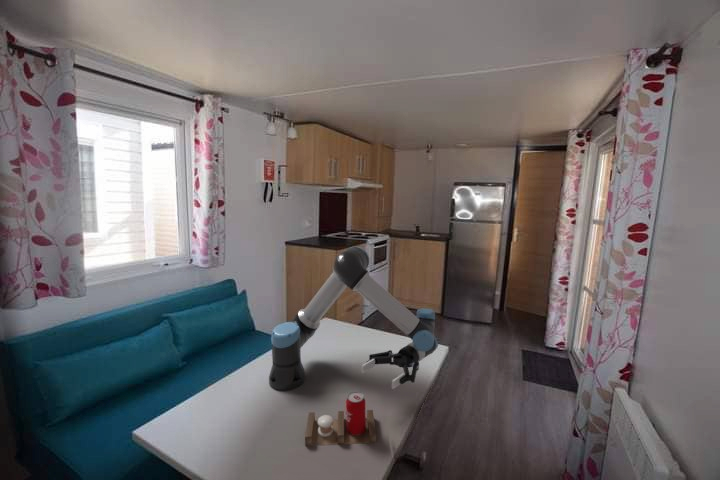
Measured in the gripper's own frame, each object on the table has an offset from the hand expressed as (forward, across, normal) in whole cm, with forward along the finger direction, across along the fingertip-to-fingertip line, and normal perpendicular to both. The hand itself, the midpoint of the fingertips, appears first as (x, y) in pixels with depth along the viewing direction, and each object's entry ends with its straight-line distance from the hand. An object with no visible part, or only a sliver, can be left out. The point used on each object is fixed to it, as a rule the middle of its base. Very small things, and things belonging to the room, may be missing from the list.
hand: (376, 376), depth 107 cm
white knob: (+17, +7, -15) cm, 24 cm away
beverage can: (+10, 0, -15) cm, 18 cm away
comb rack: (+13, +4, -16) cm, 21 cm away
